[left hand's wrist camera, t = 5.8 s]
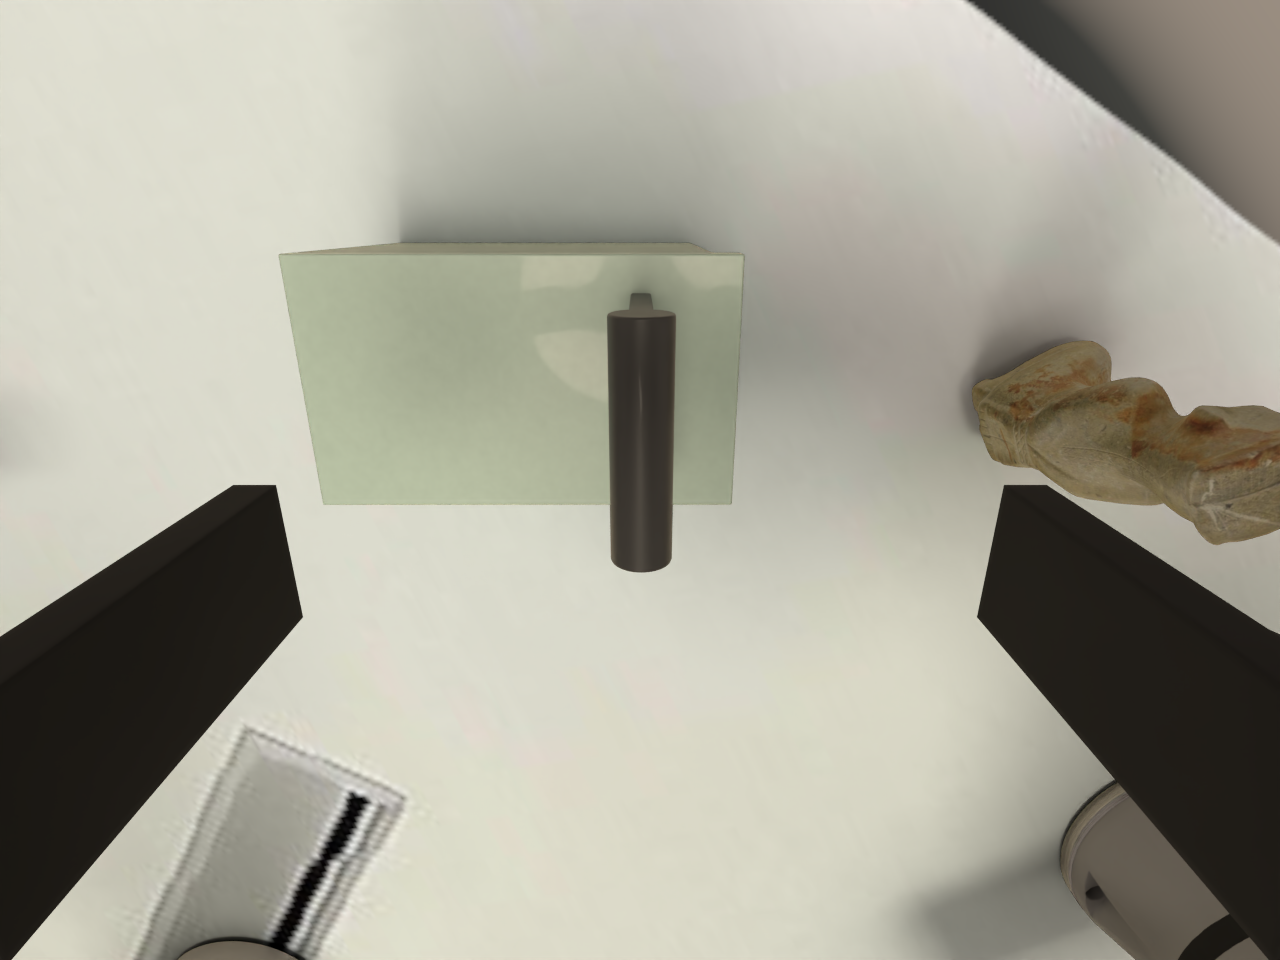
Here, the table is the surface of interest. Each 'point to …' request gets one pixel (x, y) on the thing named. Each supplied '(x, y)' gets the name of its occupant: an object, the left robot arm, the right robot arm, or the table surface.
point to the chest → (521, 248)
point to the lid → (523, 381)
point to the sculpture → (1134, 442)
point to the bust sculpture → (235, 952)
